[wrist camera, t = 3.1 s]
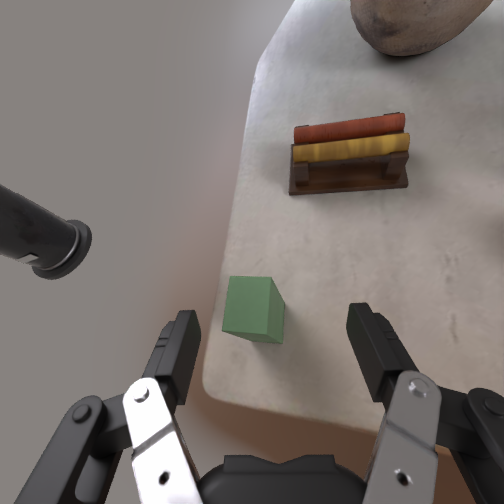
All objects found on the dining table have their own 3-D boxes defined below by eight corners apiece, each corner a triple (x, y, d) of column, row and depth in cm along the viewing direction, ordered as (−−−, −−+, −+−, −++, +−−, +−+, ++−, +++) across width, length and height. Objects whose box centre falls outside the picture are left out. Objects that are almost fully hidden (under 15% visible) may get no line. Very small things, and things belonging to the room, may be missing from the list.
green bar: (250, 340, 29) (221, 331, 21) (254, 300, 31) (229, 275, 23) (282, 344, 28) (267, 335, 19) (284, 301, 30) (271, 276, 21)
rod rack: (289, 195, 37) (284, 167, 32) (291, 147, 41) (287, 115, 36) (406, 187, 33) (424, 154, 27) (396, 135, 37) (410, 97, 31)
